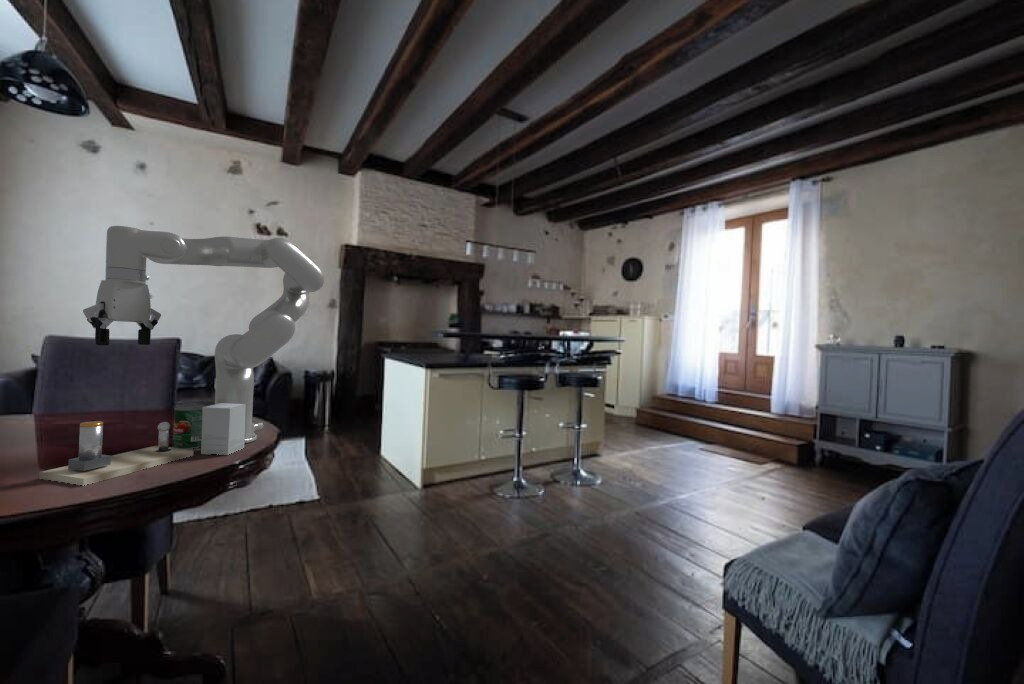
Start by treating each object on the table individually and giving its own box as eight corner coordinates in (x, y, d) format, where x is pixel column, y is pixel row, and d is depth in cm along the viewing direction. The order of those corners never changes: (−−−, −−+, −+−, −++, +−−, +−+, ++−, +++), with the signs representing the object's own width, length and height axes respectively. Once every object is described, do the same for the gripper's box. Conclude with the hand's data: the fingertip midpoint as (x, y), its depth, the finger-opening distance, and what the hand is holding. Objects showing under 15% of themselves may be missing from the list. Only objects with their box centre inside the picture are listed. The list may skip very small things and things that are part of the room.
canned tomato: (164, 449, 116) (166, 408, 116) (186, 442, 124) (188, 404, 123) (194, 450, 116) (196, 409, 116) (214, 443, 124) (215, 405, 124)
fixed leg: (164, 448, 111) (165, 420, 111) (172, 449, 110) (173, 421, 110) (153, 451, 108) (155, 422, 108) (162, 452, 108) (163, 423, 108)
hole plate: (156, 451, 113) (156, 445, 113) (193, 455, 111) (193, 449, 111) (39, 479, 90) (39, 471, 90) (83, 486, 87) (83, 478, 87)
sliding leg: (95, 462, 97) (97, 419, 96) (110, 464, 96) (112, 421, 96) (68, 468, 92) (70, 424, 92) (84, 471, 91) (85, 425, 91)
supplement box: (245, 448, 120) (247, 403, 120) (227, 455, 112) (229, 408, 112) (218, 447, 120) (220, 402, 120) (199, 454, 112) (201, 406, 112)
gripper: (149, 281, 117) (147, 343, 117) (73, 271, 100) (71, 344, 100) (171, 281, 115) (169, 345, 116) (98, 271, 98) (96, 346, 99)
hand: (124, 344), depth 108 cm, fingers open, 9 cm apart
